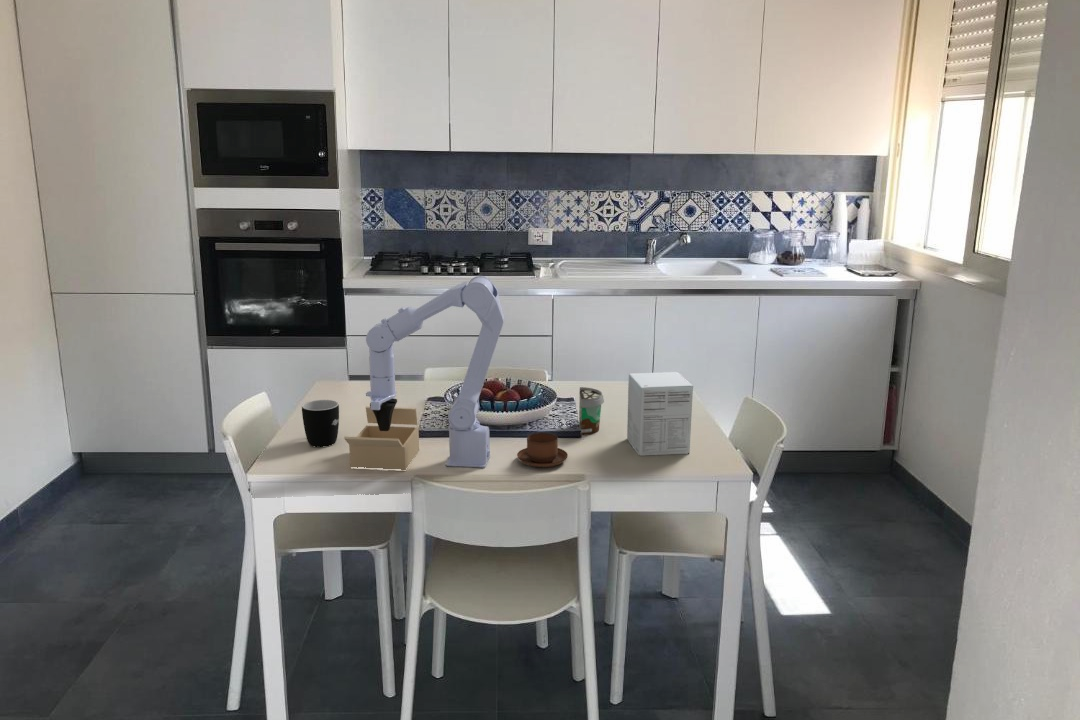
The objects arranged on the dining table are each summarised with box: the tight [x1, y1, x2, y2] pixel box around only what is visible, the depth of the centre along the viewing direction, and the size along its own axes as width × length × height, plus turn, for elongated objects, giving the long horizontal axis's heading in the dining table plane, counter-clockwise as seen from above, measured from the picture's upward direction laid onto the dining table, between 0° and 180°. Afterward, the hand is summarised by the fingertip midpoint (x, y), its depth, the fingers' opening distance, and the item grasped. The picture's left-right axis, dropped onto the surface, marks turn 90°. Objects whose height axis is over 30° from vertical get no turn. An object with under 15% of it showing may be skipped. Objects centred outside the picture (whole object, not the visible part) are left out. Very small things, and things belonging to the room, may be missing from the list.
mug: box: [301, 399, 340, 448], centre depth 227 cm, size 12×9×10 cm
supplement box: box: [626, 371, 694, 457], centre depth 224 cm, size 13×13×18 cm
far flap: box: [365, 406, 419, 426], centre depth 220 cm, size 12×4×1 cm
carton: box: [348, 425, 420, 471], centre depth 215 cm, size 13×14×6 cm
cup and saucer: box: [516, 432, 569, 468], centre depth 214 cm, size 12×12×6 cm
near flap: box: [343, 436, 403, 447], centre depth 205 cm, size 12×4×1 cm
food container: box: [578, 386, 605, 436], centre depth 237 cm, size 12×6×10 cm, turn 0°
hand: (384, 430), depth 214 cm, fingers closed
